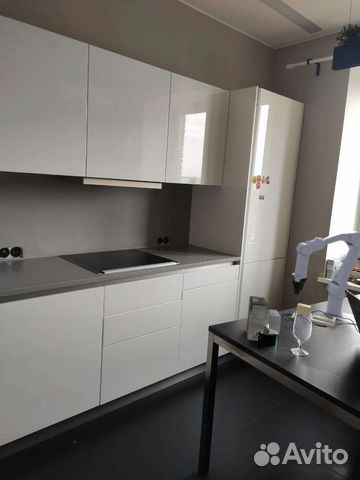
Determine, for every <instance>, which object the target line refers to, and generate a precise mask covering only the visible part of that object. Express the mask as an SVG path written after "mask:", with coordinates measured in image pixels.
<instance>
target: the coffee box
mask: <svg viewBox="0 0 360 480" xmlns="http://www.w3.org/2000/svg"><path fill="white" fill-rule="evenodd" d="M267 308H268V304H267V301H266V299H265V297H259V296H255V295H254V296H253V295H252V296H251V295H249V299H248V311H247V319H246V321H247V322H246V330H245V332H246V337H247V340H250V341H257V342H259V341H258V336H259V332H264V331H265V326H266V319H267V311H268V309H267Z"/></svg>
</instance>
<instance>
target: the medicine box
mask: <svg viewBox="0 0 360 480" xmlns="http://www.w3.org/2000/svg"><path fill="white" fill-rule="evenodd" d="M278 311H279V310H278V309H267V310H266V318H265V323H266V322H267V323H268V324H269V328H270V329H273V330H275V331H277V332H278V335H277V336H279V335H280V332H281V331H280V330H281V323H282V316H281V314H280V313H279V312H278Z"/></svg>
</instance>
